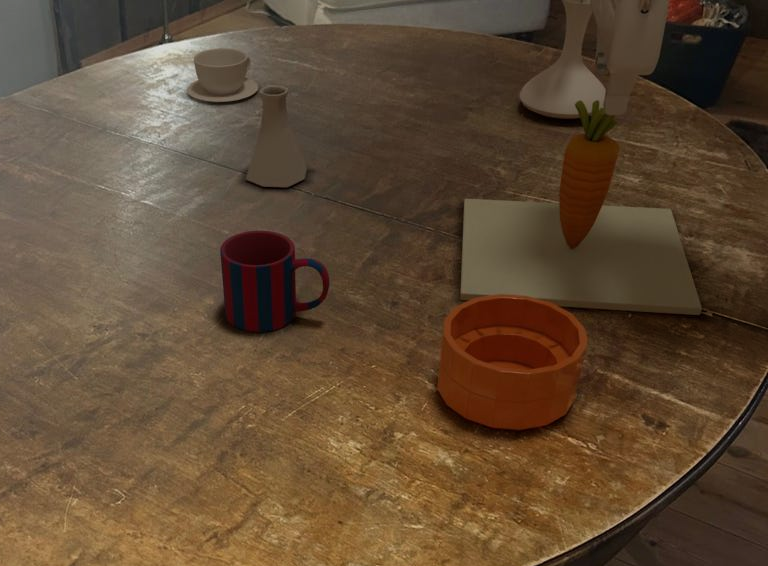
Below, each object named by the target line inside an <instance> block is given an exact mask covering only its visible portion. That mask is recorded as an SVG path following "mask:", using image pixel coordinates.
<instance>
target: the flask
mask: <svg viewBox="0 0 768 566" xmlns="http://www.w3.org/2000/svg"><path fill="white" fill-rule="evenodd" d="M288 94H289V87H286V86H283V85H276V84H275V85H273V84H272V85H271V84H268V85H266V86H264V87H261V88H260V90H259V98H260V99H261V100H262V101H261V102H262V112H261V113H262V114H261V121H260V128H259V131H258V136H257V139H256V143H255V146H254V150H253V154H252V156H251V160H250V163H249V167H248V169H247V173H246V177H245V180H246V181H248V182H251V183H253V184H256V185H258V186H261V187H265V188H266V187H267V188H268V187H270V188H290V187H291V186H294V185H295V184H298V183H299V182H301V181H304V180H305V178H306V174H307V170H308V167H307V165H306V162H305V160H304V157H303V155H302V152H301V150H300V147H299V145H298V142H297V140H296V137H295V133H294V131H293V129H292V127H291V123H290V119H289V114H288V109H287V97H288Z"/></svg>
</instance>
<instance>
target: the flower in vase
mask: <svg viewBox="0 0 768 566" xmlns="http://www.w3.org/2000/svg"><path fill="white" fill-rule="evenodd" d="M561 2H562V4H563V6H564V10H565V20H566V21H565V22H566V25H565V36H564V43H563V47H562V51H561V54H560V56H559V58H558V59H557V60H556V61H555V62H554V63H553V64H552V65H550V66H548V67H547V68H546V69H544V70H542V71H541V72H539V73H538V74H536V75H535V76H534V77H532V78H531V79H530V80H529V81H527V83H525V84H524V85H523V87H522V89H521V90H520V92H519V95H518V96H519V99H520V101H521V103H522V105H523V107H525V108H526V109H528V110H529V111H531V112H534V113H536V114H538V115H540V116H545V117H548V118H554V119H562V120H565V119H566V120H572V119H573V120H574V119H580V116H579V113H578V111H577V109H576V107H575V103H576V102H578V101H580V100H581V101H582V102H583V103H584V105H585V107H586V109H587V112H588V117H591V114H592V104H593V102H594V101H597V100H598V101H599V110H600V108H604V105H603V103H604V99H605V92H606V88H605V86H604V84H603V83H602V82H601V80H599V79H598V78H597V77H596V76H595V75H594V74H593V72H591V70H589V68H588V67H587V66H586V65H585V63H584V61H583V57H582V50H583V42H584V38H585V33H586V31H587V26H588V24H589V21H590V19H591V16H592V15H593V11H592V8H591V4H590V0H561Z"/></svg>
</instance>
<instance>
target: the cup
mask: <svg viewBox="0 0 768 566" xmlns="http://www.w3.org/2000/svg"><path fill="white" fill-rule="evenodd" d="M219 251H220V265H221V276H222V277H221V279H222V289H223V290H222V292H223V303H224V313H225V315H224V316H225V318H226V320H227V321H228V323H229V324H231V325H232V326H233V327H235V328H237V329H239V330H242V331H246V332H252V333H264V332H265V333H266V332H271V331H275V330H279V329H281V328H283V327H285V326H287V325H289V323H291V322H292V321H293V320H294V318H295V317H296V314H297V313H300V312H306V311H310V310H313V309H315V308H317V307H318V306H320V305H321V304H322V303H323V302H324V301H325V300H326V298H327V296H328V293H329V289H330V276H329V275H330V274H329V272H328V269H327V268H326V266H325V265H324V264H323V263H322V262H321V261H319V260H317V259H313V258H307V257H305V258H297V259H296V247H295V243H294V242H293V240H292V239H291V238H289V236H286V235H284V234H282V233H279V232H276V231H271V230H249V231H244V232H243V231H242V232H240V233H236V234H234V235H232V236H230V237H228V238H227V239H226V240H225V241H223V243H221V246H220V249H219ZM302 267H309V268H312V269H314V270H316V271H317V272H318V273H319V275H320V277H321V281H322V290H321V291H322V292H321V294H320V295H319V297H318V298H316V299H313V300H311V301H305V302H301V301H300V302H299V301H297V286H296V285H297V283H296V282H297V281H296V270H297V269H300V268H302Z"/></svg>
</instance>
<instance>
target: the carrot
mask: <svg viewBox="0 0 768 566" xmlns="http://www.w3.org/2000/svg"><path fill="white" fill-rule="evenodd" d="M575 107H576V109H577V111H578V113H579V116H580V118H579V120H580V122H581V125H582V128H583V131H584V132H583V133H579V134H576V135H574V136H573V137H572V138H571V139H570V141H569V142H568V145H567V146H566V148H565V152H564V155H563V156H564V157H563V162H562V167H561V168H562V169H561V174H560V175H561V176H560V183H559V194H558V195H559V197H558V198H559V200H558V201H559V209H560V222H561V227H562V232H563V235H564V237H565V240H566V243H567V245H568V246H569V247H570V248H571V249H574V248H575V247H577V246H578V245H579V244H580V243H581V242H582V241H583V240H584V238H585V237H586V236H587V234H588V233H589V231H590V230H591V228H592V227H593V225H594V223H595V221H596V219H597V216H598V214H599V212H600V210H601V207H602V205H603V206H604V202H605V200H606V198H607V195H608V192H609V190H610V186H611V182H612V179H613V177H614V176H613V175H614V172H615V168H616V164H617V160H618V156H619V150H620V145H619V143H618V142H617V140H614V138H611V136H608V135H607V133H608V132H610V130H612V129H613V128H614V127H616V125H618V124H619V120H618V119H615V117H616V116H617V115H607V114H606V113H605V111H604V108H600V110H599V101H598V100H597V101H594V102H593V104H592V114H591V116H588V112H587V109H586V107H585V105H584V103H583V102H582V101H581V100H580V101H578V102H576V103H575ZM589 117H590V118H589Z"/></svg>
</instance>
